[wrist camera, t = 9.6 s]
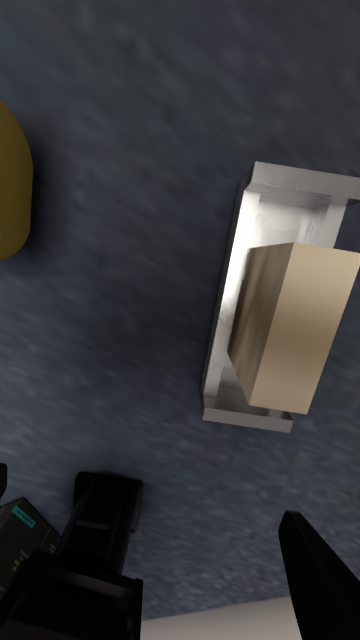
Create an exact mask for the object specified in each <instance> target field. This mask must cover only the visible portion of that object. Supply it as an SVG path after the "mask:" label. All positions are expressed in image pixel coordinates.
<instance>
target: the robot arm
mask: <svg viewBox="0 0 360 640" xmlns="http://www.w3.org/2000/svg"><path fill="white" fill-rule="evenodd" d="M6 487H7V465H6V464H5V463H0V499H1V497H2V495H3V494H4V492H5V490H6ZM142 489H143V484H142V482H140V481H135V480H128V479H121V478H114V477H108V476H101V475H94V474H87V473H78V474H77V476H76V478H75V489H74V509H73V512H72V514H71V516H70V518H69V521H68V523H67V525H66V527H65V529H64V532H63V534H62V536H61V538H60V541H59V543H58V545H57V547H56V549H55V552H54V554H51V553H48V552H44V551H42V549H41V548H37V547H35V548H34V550H33V552H32V553H31V555H30V557H29V558H27V559H24V560H21V561H20V563H19V565H18V567H17V568H16V570H15V572H14V574H13V576H12V578H11V579H10V581H9V583H8V585H7V586H6V588H5V590H4V591H3V593H2V595H1V596H0V640H140V630H141V612H142V593H143V580H141V579H138V578H136V579H132V578H129V577H126V576H123V575H122V572H123V567H124V562H125V557H126V553H127V548H128V543H129V538H130V534H134V533H136V530H137V524H138V517H139V510H140V503H141V496H142ZM278 535H279V541H280V546H281V551H282V556H283V561H284V566H285V571H286V576H287V581H288V585H289V590H290V595H291V600H292V603H293V608H294V612H295V615H296V619H297V623H298V626H299V630H300V634H301V637H302V640H360V581H359V580H358V579H357V577H356V576H355V575H354V574H353V573H352V572H351V570H350V569H349V568H348V567H347V566H346V565H345V564H344V562H343V561H342V560H341V559H340V558H339V557H338V556H337V554H336V553H335V552H334V551H333V550H332V549H331V548H330V546H329V545H328V544H327V543H326V542H325V541H324V539H323V538H322V537H321V536H320V535H319V534H318V533H317V531H316V530H315V529H314V528H313V527H312V526H311V525H310V523H309V522H308V521H307V520H306V519H305V518H304V517H303V515H302V514H301V513H299V512H297V511H292V510H286V511H285V513H284V515H283V518H282V521H281V523H280V526H279V530H278ZM25 598H26V599H25Z"/></svg>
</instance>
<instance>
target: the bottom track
mask: <svg viewBox="0 0 360 640" xmlns="http://www.w3.org/2000/svg"><path fill="white" fill-rule="evenodd" d="M359 202H360V178H356V177H350V176H344V175H337V174H331V173H325V172H319V171H312V170H306V169H300V168H294V167H288V166H281V165H275V164H269V163H263V162H257V161H255V163H254V164H253V166H252V167H251V168H250V170H249V171H248V173H247V174H246V175H245V177H244V178H243V180H242V181H241V182H240V184H239V188H238V193H237V199H236V204H235V209H234V214H233V219H232V224H231V229H230V235H229V240H228V245H227V250H226V255H225V260H224V265H223V271H222V276H221V281H220V286H219V291H218V296H217V302H216V307H215V312H214V317H213V322H212V327H211V332H210V338H209V343H208V348H207V353H206V358H205V363H204V368H203V374H202V379H201V384H200V400H201V411H202V420H207V421H214V422H220V423H227V424H234V425H240V426H247V427H254V428H260V429H267V430H274V431H280V432H287V433H290V430H291V427H292V424H293V419H292V418H291V416H290V415H289V413H288V411H282V410H276V409H270V408H263V407H257V406H251V405H249V404H248V402H247V399H246V397H245V394H244V392H243V390H242V387H241V385H240V382H239V380H238V377H237V375H236V373H235V370H234V368H233V365H232V363H231V360H230V358H229V356H228V353H227V349H228V345H229V340H230V336H231V332H232V328H233V323H234V319H235V315H236V311H237V306H238V302H239V298H240V293H241V289H242V285H243V281H244V276H245V272H246V268H247V264H248V259H249V255H250V251H251V248H253V247H261V246H268V245H276V244H283V243H290V242H297V243H303V244H309V245H315V246H320V247H326V248H332V249H333V247H334V244H335V241H336V237H337V234H338V231H339V228H340V224H341V221H342V218H343V215H344V211H345V208H346V207H347V206H350V205H353V204H356V203H359Z"/></svg>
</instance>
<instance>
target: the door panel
mask: <svg viewBox="0 0 360 640" xmlns="http://www.w3.org/2000/svg"><path fill="white" fill-rule="evenodd" d="M359 266H360V253H355V252H349V251H344V250H338V249H332V248H326V247H320V246H315V245H309V244H303V243H297V242H290V243H283V244H276V245H268V246H261V247H253V248H251V251H250V255H249V259H248V264H247V268H246V272H245V276H244V281H243V285H242V289H241V293H240V298H239V302H238V306H237V311H236V315H235V319H234V323H233V328H232V332H231V336H230V340H229V345H228V349H227V353H228V356H229V358H230V360H231V363H232V365H233V368H234V370H235V373H236V375H237V377H238V380H239V382H240V385H241V387H242V390H243V392H244V394H245V397H246V399H247V402H248V404H249V405H251V406H257V407H263V408H270V409H276V410H282V411H288V412H294V413H300V414H306V415H307V412H308V410H309V407H310V404H311V401H312V398H313V395H314V393H315V390H316V387H317V384H318V381H319V379H320V376H321V373H322V370H323V367H324V365H325V362H326V359H327V356H328V353H329V351H330V348H331V345H332V342H333V339H334V337H335V334H336V331H337V328H338V325H339V323H340V320H341V317H342V314H343V311H344V309H345V306H346V303H347V300H348V297H349V294H350V292H351V289H352V286H353V283H354V280H355V278H356V275H357V272H358V269H359Z"/></svg>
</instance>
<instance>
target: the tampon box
mask: <svg viewBox="0 0 360 640" xmlns="http://www.w3.org/2000/svg"><path fill="white" fill-rule="evenodd" d="M60 538H61V537H60V536H59V535H58V534H57V533H56V532H55V531H54V530H53V529H52V528H51V527H50V526H49V525H48V524H47V523H46V522H45V521H44V520H43V518H42V517H41V516H40V515H39V514H38V513H37V512H36V511H35V510H34V509H33V508H32V507H31V506H30V505H29V504H28V503H27V502H26V500H25V499H23V498H22V499H19V500H17V501H15V502H12V503H10V504H8V505H6V506H3V507H1V508H0V596H1V595H2V593H3V591H4V590H5V588H6V586H7V585H8V583H9V581H10V579H11V578H12V576H13V574H14V572H15V570H16V568H17V567H18V565H19V563H20V561H21V560H24V559H27V558H29V557H30V555H31V553H32V552H33V550H34V548H35V547H37V548H41V549H42V551H44V552H48V553H51V554H54V552H55V549H56V547H57V545H58V543H59V541H60ZM25 599H26V598H25Z"/></svg>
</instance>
